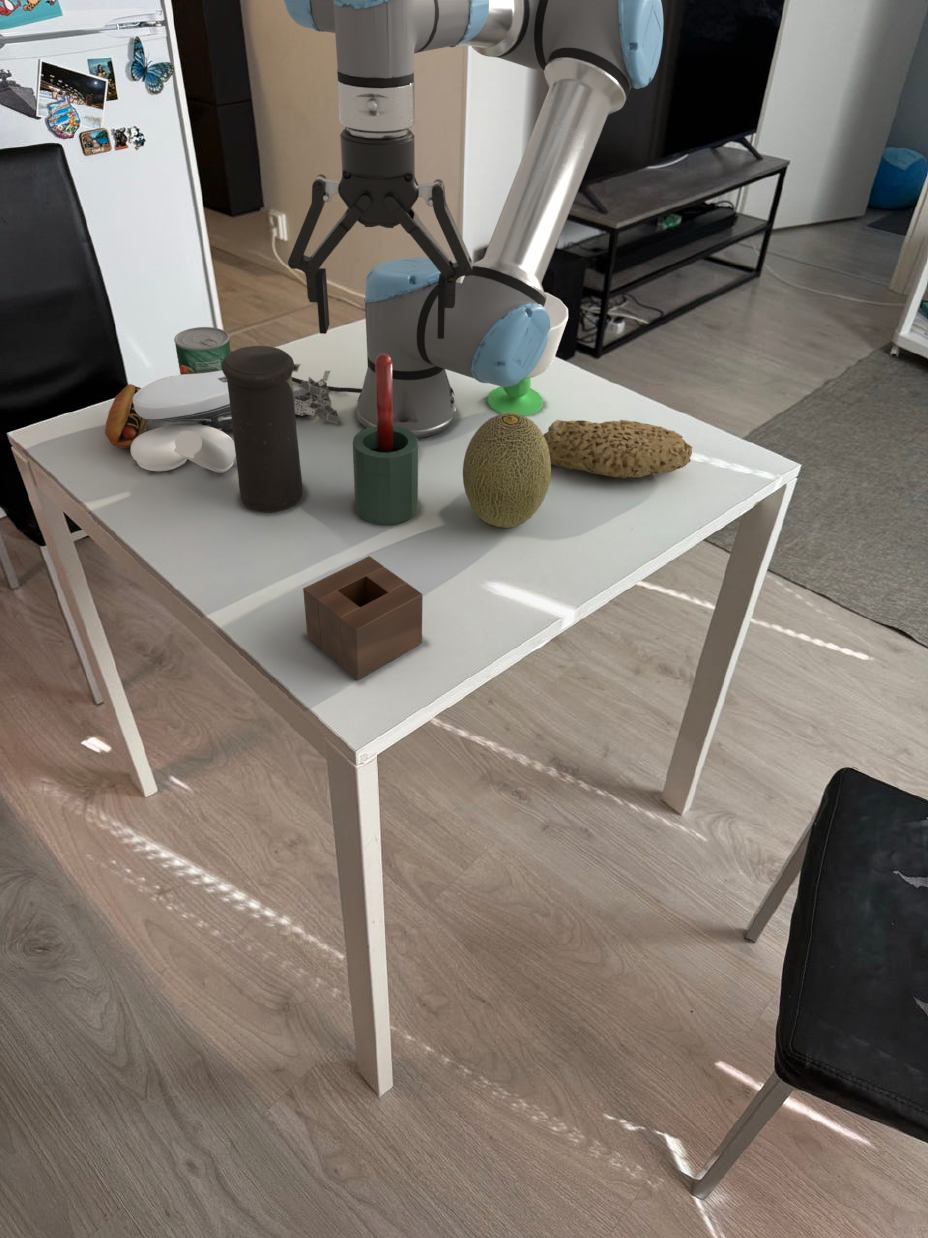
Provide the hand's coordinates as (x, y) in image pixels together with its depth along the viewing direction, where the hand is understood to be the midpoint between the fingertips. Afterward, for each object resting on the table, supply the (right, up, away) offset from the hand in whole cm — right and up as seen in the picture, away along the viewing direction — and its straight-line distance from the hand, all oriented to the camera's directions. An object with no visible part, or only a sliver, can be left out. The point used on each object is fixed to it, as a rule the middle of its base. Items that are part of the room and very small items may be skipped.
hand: (382, 331), depth 105 cm
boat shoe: (-26, +1, +24) cm, 36 cm away
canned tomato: (-30, 0, +35) cm, 46 cm away
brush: (-1, -18, +15) cm, 24 cm away
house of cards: (-14, +3, +33) cm, 37 cm away
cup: (+18, +1, +40) cm, 44 cm away
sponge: (+31, -12, +26) cm, 42 cm away
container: (-16, -17, +17) cm, 29 cm away
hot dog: (-42, -6, +27) cm, 50 cm away
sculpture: (-29, -12, +22) cm, 39 cm away
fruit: (+15, -20, +15) cm, 29 cm away
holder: (-2, -36, -5) cm, 36 cm away
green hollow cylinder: (-1, -19, +16) cm, 24 cm away
